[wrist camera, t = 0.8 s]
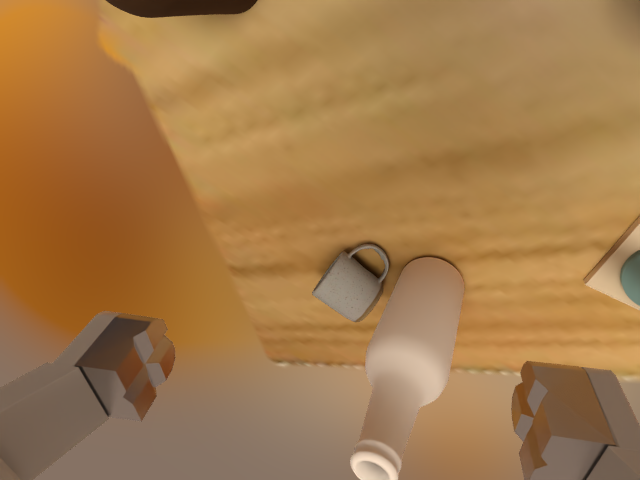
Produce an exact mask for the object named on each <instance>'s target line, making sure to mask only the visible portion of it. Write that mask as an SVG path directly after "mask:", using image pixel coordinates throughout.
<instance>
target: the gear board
mask: <svg viewBox="0 0 640 480" xmlns="http://www.w3.org/2000/svg"><path fill="white" fill-rule="evenodd" d="M584 282H585V285H587V286H589V287H591V288H593V289H595V290H597V291H600V292H602V293H604V294H606V295H608V296H610V297H612V298H614V299H617V300H619V301H621V302H623V303H625V304H627V305H629V306H631V307H634V308H636V309H638V310H640V216H639V218H638V219H637V220H636V221H635V222H634V223H633V224H632V225H631V227H630V228H629V229H628V230H627V231H626V232H625V233H624V235H623V236H622V237H621V238H620V239H619V240H618V241H617V242H616V244H615V245H614V246H613V247H612V248H611V249H610V250H609V252H608V253H607V254H606V255H605V256H604V257H603V258H602V259H601V261H600V262H599V263H598V264H597V265H596V266H595V267H594V269H593V270H592V271H591V272H590V273H589V274H588V275H587V276H586V278H585V279H584Z"/></svg>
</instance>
